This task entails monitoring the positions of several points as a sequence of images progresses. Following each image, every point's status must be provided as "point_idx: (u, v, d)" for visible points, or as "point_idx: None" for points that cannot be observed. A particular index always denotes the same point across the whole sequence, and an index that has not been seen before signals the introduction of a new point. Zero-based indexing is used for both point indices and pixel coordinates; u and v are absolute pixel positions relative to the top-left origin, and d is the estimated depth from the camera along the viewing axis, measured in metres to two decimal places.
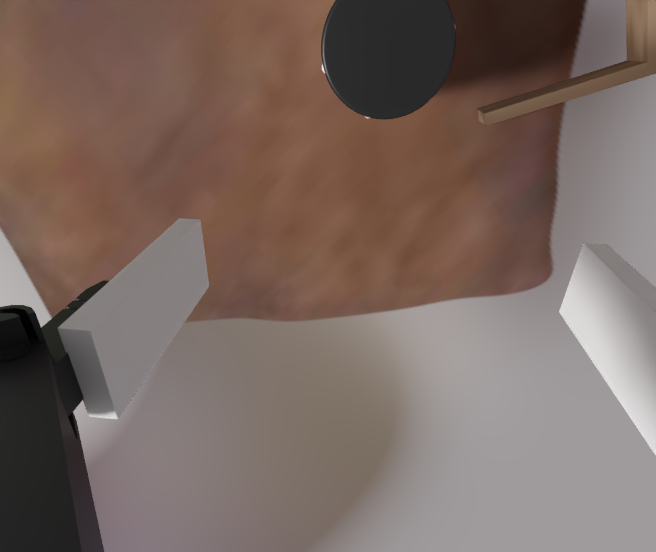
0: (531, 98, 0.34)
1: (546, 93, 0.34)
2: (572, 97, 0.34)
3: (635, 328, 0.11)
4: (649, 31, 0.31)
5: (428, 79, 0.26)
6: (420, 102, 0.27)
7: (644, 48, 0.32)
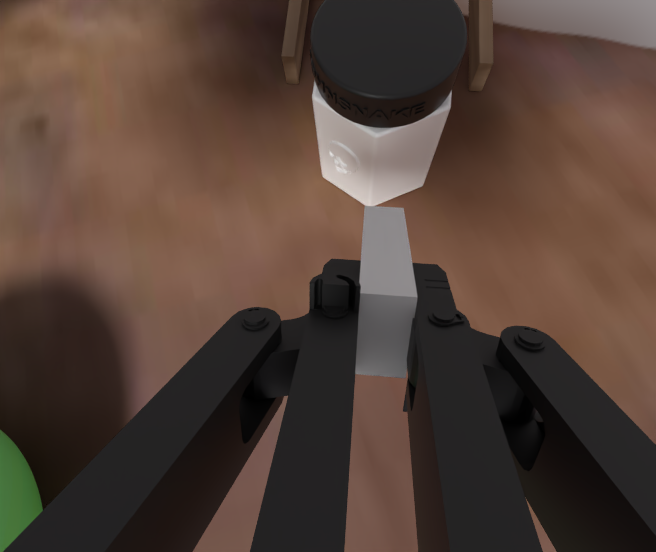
0: (478, 24, 0.33)
1: (478, 13, 0.33)
2: None
3: None
4: None
5: (436, 1, 0.22)
6: (458, 13, 0.22)
7: None
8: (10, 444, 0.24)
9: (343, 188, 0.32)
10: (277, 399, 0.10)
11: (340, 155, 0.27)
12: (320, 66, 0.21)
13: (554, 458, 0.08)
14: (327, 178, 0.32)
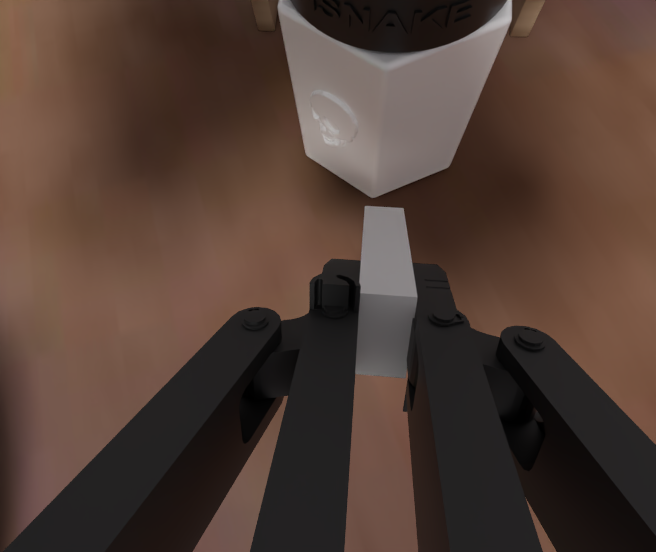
0: None
1: None
2: None
3: None
4: None
5: None
6: None
7: None
8: None
9: (335, 170, 0.22)
10: (277, 399, 0.10)
11: (328, 114, 0.18)
12: None
13: (553, 457, 0.08)
14: (312, 157, 0.23)
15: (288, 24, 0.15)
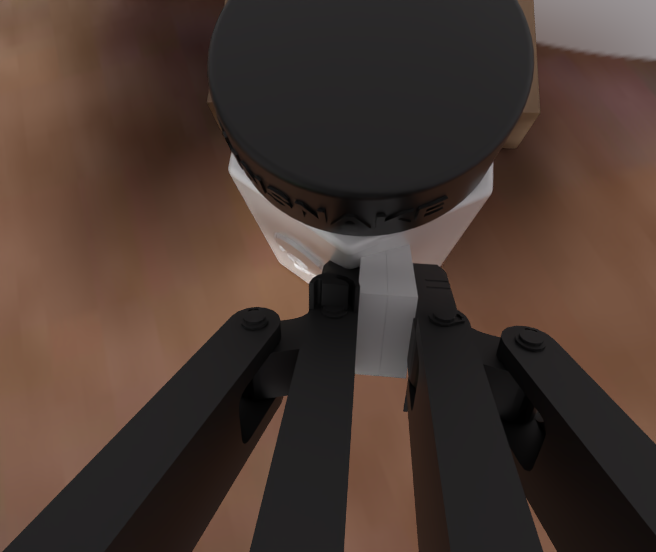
0: None
1: None
2: None
3: None
4: None
5: None
6: (513, 8, 0.10)
7: None
8: None
9: None
10: (276, 399, 0.10)
11: (294, 254, 0.16)
12: (223, 123, 0.10)
13: (554, 457, 0.08)
14: (285, 266, 0.21)
15: (241, 185, 0.13)
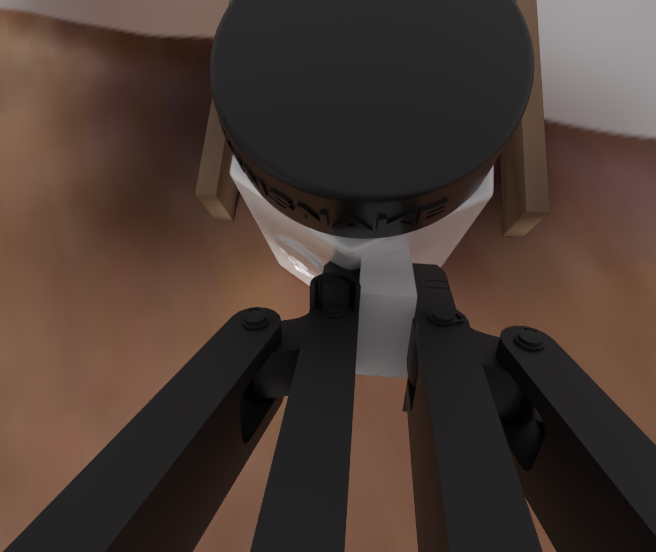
0: (521, 139, 0.20)
1: None
2: (539, 83, 0.20)
3: None
4: None
5: None
6: (514, 12, 0.10)
7: None
8: None
9: None
10: (277, 399, 0.10)
11: (295, 256, 0.16)
12: (226, 127, 0.10)
13: (553, 457, 0.08)
14: (286, 268, 0.21)
15: (243, 188, 0.13)
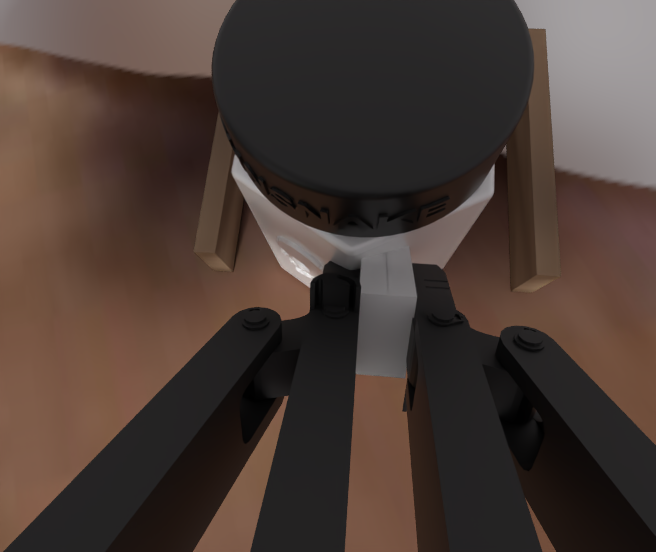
0: (531, 196, 0.19)
1: (529, 174, 0.19)
2: (549, 137, 0.20)
3: None
4: None
5: None
6: (513, 12, 0.11)
7: None
8: None
9: None
10: (277, 399, 0.10)
11: (296, 257, 0.16)
12: (227, 125, 0.10)
13: (553, 457, 0.08)
14: (287, 270, 0.21)
15: (244, 187, 0.13)
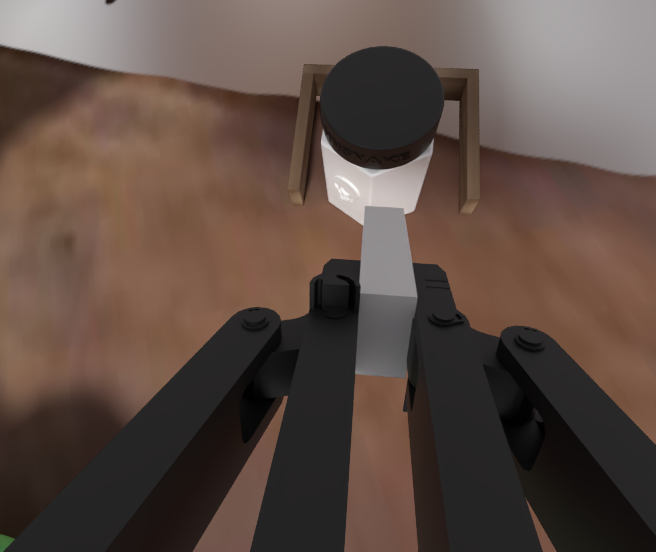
0: (467, 159, 0.36)
1: (466, 148, 0.36)
2: (477, 129, 0.36)
3: None
4: (444, 76, 0.38)
5: (420, 71, 0.28)
6: (437, 81, 0.27)
7: (455, 80, 0.38)
8: None
9: (346, 212, 0.38)
10: (277, 399, 0.10)
11: (343, 187, 0.33)
12: (327, 122, 0.27)
13: (554, 457, 0.08)
14: (332, 203, 0.38)
15: (325, 149, 0.30)
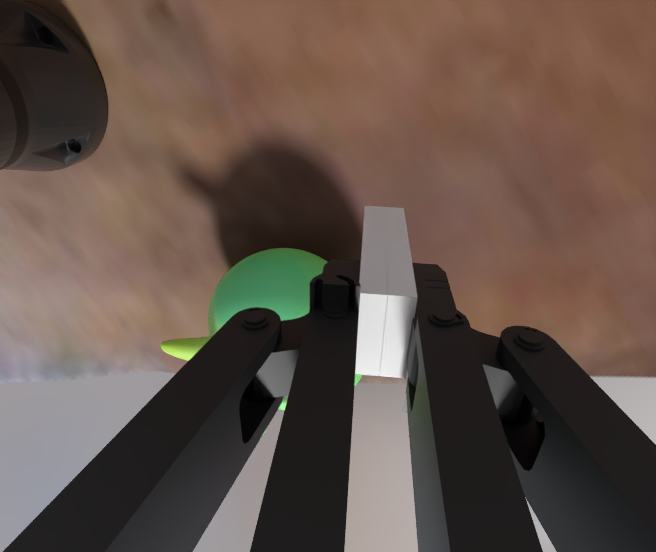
0: None
1: None
2: None
3: None
4: None
5: None
6: None
7: None
8: (317, 256, 0.42)
9: None
10: (277, 399, 0.10)
11: None
12: None
13: (554, 457, 0.08)
14: None
15: None
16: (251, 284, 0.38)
